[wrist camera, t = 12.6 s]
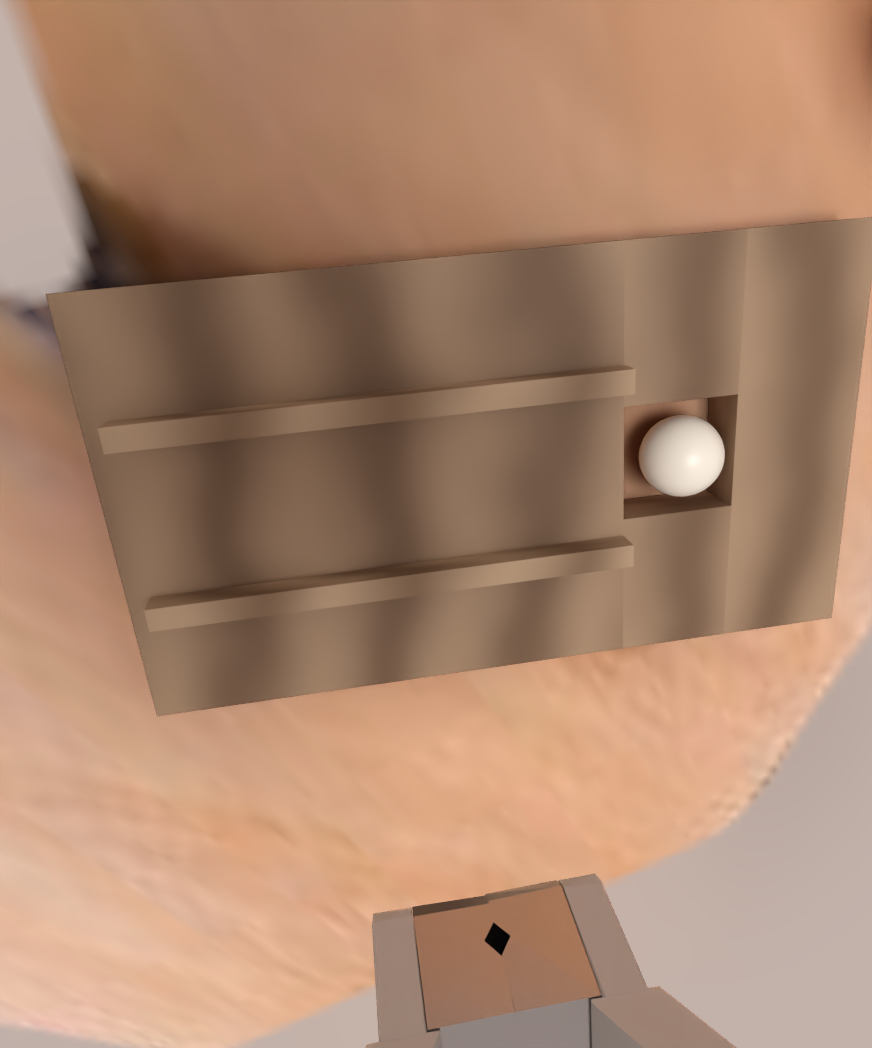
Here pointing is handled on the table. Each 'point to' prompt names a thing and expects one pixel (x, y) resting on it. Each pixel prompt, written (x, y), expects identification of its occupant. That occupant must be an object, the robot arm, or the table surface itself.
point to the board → (466, 454)
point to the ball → (681, 455)
